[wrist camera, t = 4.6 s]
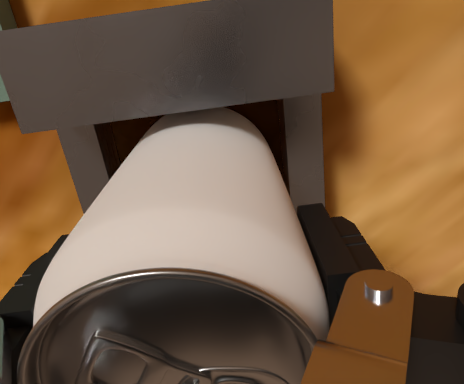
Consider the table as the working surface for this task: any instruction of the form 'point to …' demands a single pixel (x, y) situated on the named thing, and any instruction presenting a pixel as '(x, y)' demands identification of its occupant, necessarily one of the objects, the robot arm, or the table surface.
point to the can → (182, 269)
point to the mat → (4, 20)
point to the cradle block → (175, 78)
